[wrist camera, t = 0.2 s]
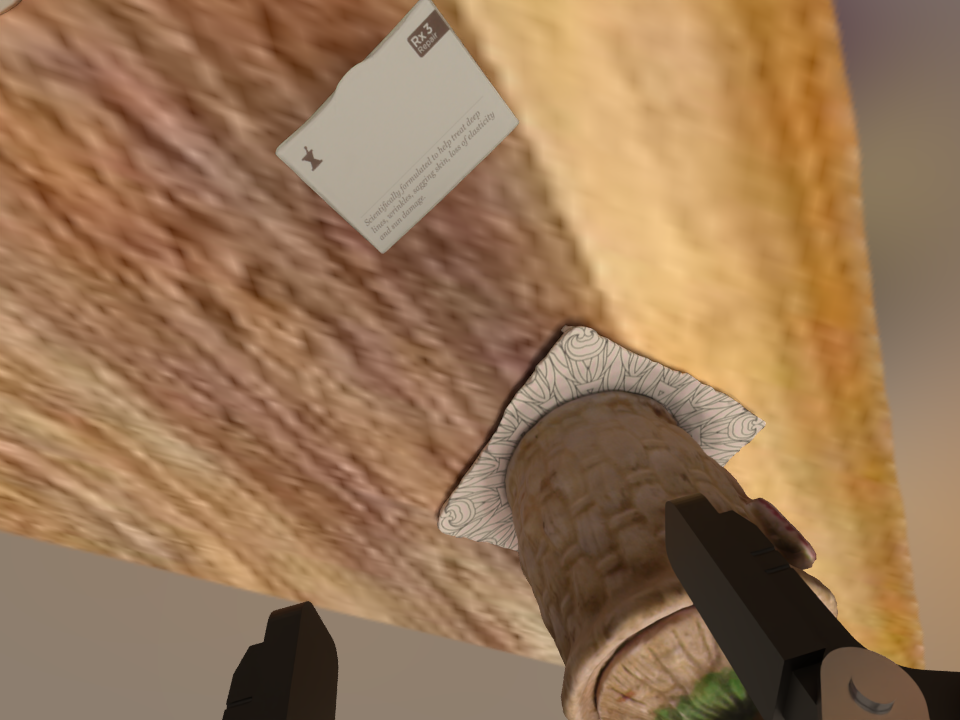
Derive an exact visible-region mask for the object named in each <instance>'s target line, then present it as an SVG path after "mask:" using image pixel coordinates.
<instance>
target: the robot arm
mask: <svg viewBox="0 0 960 720" xmlns="http://www.w3.org/2000/svg"><path fill="white" fill-rule="evenodd" d="M665 546H666V552H667V556H668V559H669V562H670V564H671V566H672V569H673V571H674V573H675V574H676V576H677V578H678V579H679V581H680V583H681V584H682V586H683V588H684V589H685V591H686V593H687V594H688V596H689V598H690V599H691V601H692V602H693V604H694V606H695V607H696V609H697V611H698V612H699V614H700V616H701V617H702V619H703V621H704V622H705V624H706V625H707V627H708V629H709V630H710V632H711V634H712V635H713V637H714V639H715V640H716V642H717V644H718V645H719V647H720V648H721V650H722V652H723V653H724V655H725V657H726V658H727V660H728V662H729V663H730V665H731V667H732V668H733V670H734V671H735V673H736V675H737V676H738V678H739V680H740V681H741V683H742V685H743V686H744V688H745V690H746V691H747V693H748V694H749V696H750V698H751V699H752V701H753V703H754V704H755V706H756V708H757V709H758V711H759V713H760V714H761V716H762V717H763V719H764V720H960V672H950V671H949V672H948V671H932V670H919V669H912V668H907V667H903V666H900V665H897V664H895V663H894V662H893V661H891V660H889V659H888V658H886V657H884V656H882V655H880V654H878V653H876V652H873V651H870V650H868V649H866V648H865V647H863V646H862V645H861V644H860V643H859V642H858V641H856V640H855V639H854V638H853V637H852V636H851V634H850V633H849V632H848V631H847V630H846V629H845V628H844V627H843V625H842V624H841V623H840V622H839V621H838V620H837V618H836V617H835V616H834V615H833V614H832V613H831V611H830V610H829V609H828V608H827V607H826V606H825V604H824V603H823V602H822V601H821V600H820V599H819V597H818V596H817V595H816V594H815V593H814V592H813V591H812V589H811V588H810V587H809V586H808V585H807V584H806V582H805V581H804V580H803V579H802V578H801V577H800V575H799V574H798V573H797V572H796V571H795V570H794V568H791V567H790V565H789V563H788V561H787V560H786V559H785V558H784V557H783V556H782V554H781V553H780V552H779V551H778V550H775V548H774V545H773V544H772V543H771V542H770V541H769V539H768V538H767V537H766V536H765V535H764V534H763V532H762V531H761V530H760V529H759V528H758V527H757V525H755V524H754V523H752V522H750V521H749V520H747V519H746V518H744V517H742V516H741V515H739V514H738V513H736V512H735V511H733V510H730V511H726V512H723V513H718V512H717V510H716V509H715V508H714V507H713V505H712V504H711V503H710V502H709V500H708V499H707V498H706V497H705V496H704V495H703V494H701V493H694V494H691V495H687V496H684V497H680V498H677V499H673V500H670V501H667V502H666V504H665ZM337 681H338V657H337V651H336V647H335V644H334V641H333V639H332V637H331V635H330V634H329V632H328V630H327V628H326V627H325V625H324V624H323V622H322V620H321V619H320V616H319V615H318V613H317V611H316V610H315V608H314V606H313V605H312V603H311V602H309V601H307V602H303V603H300V604H296V605H293V606H289V607H286V608H282V609H278V610H275V611H273V612H272V613H271V615H270V617H269V619H268V623H267V628H266V633H265V637H264V642H262V643H259V644H255V645H252V646H250V647H249V648H248V650H247V652H246V653H245V655H244V657H243V659H242V660H241V662H240V664H239V666H238V667H237V669H236V671H235V673H234V674H233V678H232V682H231V686H230V690H229V695H228V699H227V703H226V705H227V709H226V710H225V711H224V715H223V719H222V720H335V710H336V695H337Z"/></svg>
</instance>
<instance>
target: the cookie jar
mask: <svg viewBox="0 0 960 720" xmlns="http://www.w3.org/2000/svg"><path fill="white" fill-rule="evenodd" d="M561 331H562V332H564V334H563V335H562V336H561V337H560V338H559V340H558V341H557V342H556V343H555V344H554V346H553V347H552V348H551V350H550V351H549V353H548V354H547V355H546V357H545V358H544V359H543V360H542V361H541V362H540V363H539V364H538V365H537V366H536V368H535V371H534V372H533V374H532V375H531V377H530V378H529V379H528V380H527V382H526V383H525V385H524V386H523V387H522V388H521V389H520V390H519V391H518V392H517V393H516V394H515V396H514V398H513V399H512V401H511V403H510V404H509V405H508V407H507V408H506V410H505V412H504V415H503V418H502V420H501V422H500V424H499V426H498V428H497V430H496V432H495V433H494V435H493V436H492V438H491V439H490V441H489V442H488V443H487V445H486V446H485V447H484V448H483V450H482V451H481V453H480V454H479V456H478V457H477V459H476V460H475V462H474V463H473V465H472V466H471V467H470V469H469V470H468V471H467V473H466V474H465V475H464V477H463V478H462V480H461V482H460V484H459V485H458V486H457V487H456V488H455V490H454V491H453V492H452V494H451V496H450V497H449V498H448V500H447V501H446V502H445V503H444V505H443V506H442V508H441V510H440V516H439V520H438V523H437V526H438V528H439V530H440V531H441V532H443V533H445V534H448V535H451V536H456V538H459V537H465V538H468V539H471V540H474V541H477V542H488V543H491V544H494V545H498V546H500V547H504V548H509V549H512V550H515V551H518V553H519V560H520V564H521V568H522V571H523V573H524V575H525V577H526V579H527V580H528V582H529V584H530V585H531V587H532V591H533V593H534V596H535V598H536V600H537V603H538V605H539V608H540V612H541V616H542V619H543V622H544V624H545V626H546V628H547V629H548V631H549V633H550V634H551V636H552V638H553V639H554V641H555V644H556V646H557V648H558V650H559V653H560V655H561V657H562V659H563V662H564V664H565V666H566V667H565V674H564V681H563V688H562V694H561V701H562V707H563V712H564V715H565V716H566V718H567V719H568V720H764V719H763V717H762V716H761V714H760V713H759V711H758V709H757V708H756V706H755V704H754V703H753V701H752V699H751V698H750V696H749V694H748V693H747V691H746V690H745V688H744V686H743V685H742V683H741V681H740V680H739V678H738V676H737V675H736V673H735V671H734V670H733V668H732V667H731V665H730V663H729V662H728V660H727V658H726V657H725V655H724V653H723V652H722V650H721V648H720V647H719V645H718V644H717V642H716V640H715V639H714V637H713V635H712V634H711V632H710V630H709V629H708V627H707V625H706V624H705V622H704V621H703V619H702V617H701V616H700V614H699V612H698V611H697V609H696V607H695V606H694V604H693V602H692V601H691V599H690V598H689V596H688V594H687V593H686V591H685V589H684V588H683V586H682V584H681V583H680V581H679V579H678V578H677V576H676V574H675V573H674V571H673V569H672V566H671V564H670V562H669V559H668V556H667V552H666V546H665V504H666V502H667V501H670V500H673V499H677V498H680V497H684V496H687V495H691V494H694V493H701V494H703V495H704V496H705V497H706V498H707V499H708V500H709V502H710V503H711V504H712V505H713V507H714V508H715V509H716V510H717V512H718V513H723V512H726V511H730V510H733V511H735V512H736V513H738V514H739V515H741V516H742V517H744V518H746V519H747V520H749V521H750V522H752V523H754V524H755V525H757V527H758V528H759V529H760V530H761V531H762V532H763V534H764V535H765V536H766V537H767V538H768V539H769V541H770V542H771V543H772V544H773V545H774V548H775V550H778V551H779V552H780V553H781V554H782V556H783V557H784V558H785V559H786V560H787V561H788V563H789V565H790V567H791V568H794V570H795V571H796V572H797V573H798V574H799V575H800V577H801V578H802V579H803V580H804V581H805V582H806V584H807V585H808V586H809V587H810V588H811V589H812V591H813V592H814V593H815V594H816V595H817V596H818V597H819V599H820V600H821V601H822V602H823V603H824V604H825V606H826V607H827V608H828V609H829V610H830V611H831V613H832V614H833V615H834V616H835V617H836V618H837V614H838V610H837V602H836V599H835V597H834V595H833V594H832V593H831V591H830V590H829V589H828V588H827V587H826V586H824V585H823V584H822V583H821V582H820V581H819V580H818V579H816V578H815V577H813V576H811V575H809V574H807V573H806V572H804V571H803V569H808V568H811V567H812V564H813V563H814V561H815V560H816V553H815V551H814V549H813V548H812V546H811V545H810V543H809V542H808V541H807V540H806V539H805V538H804V537H803V536H802V535H801V533H800V532H799V531H798V530H797V529H796V528H795V527H794V526H793V525H792V524H791V523H790V522H789V521H788V520H787V519H786V518H785V517H784V516H783V515H782V514H781V513H780V512H779V511H778V510H777V509H776V508H775V507H774V506H773V505H772V504H771V503H769V502H768V501H766V500H764V499H763V498H757V499H754V500H752V499H750V498H749V497H747V495H746V494H745V492H744V490H743V489H742V487H741V486H740V485H739V483H738V482H737V480H736V479H735V478H734V477H733V476H732V475H731V474H730V473H729V472H728V471H727V470H726V469H725V468H724V466H725V465H726V463H727V462H728V461H729V459H730V458H731V457H732V456H734V455H735V454H736V453H737V452H739V451H740V449H741V448H742V447H743V446H745V445H746V444H748V443H749V442H750V441H751V440H752V439H753V438H754V437H755V435H756V434H757V433H758V432H759V431H760V430H761V429H763V428H764V426H765V425H766V423H765V421H763V420H761V419H760V418H758V417H757V416H755V415H754V414H752V413H751V412H749V411H748V410H746V409H745V408H744V407H743V406H742V405H741V404H740V403H738V402H736V401H735V400H733V399H732V398H730V397H729V396H727V395H726V394H724V393H721V392H718V391H715V390H714V389H713V388H712V387H711V386H709V385H704V384H702V383H700V382H699V381H698V380H697V379H695V378H694V377H693V376H691V375H689V374H688V373H681V372H680V371H675V370H671V369H670V368H668V367H665V366H663V365H661V364H659V363H658V362H652V361H651V360H650V359H648V358H645V357H642V356H639V355H637V354H635V353H633V352H631V351H629V350H627V349H625V348H623V347H622V346H620V345H618V344H616V343H614V342H612V341H610V340H609V339H608V338H605V337H602V336H600V335H598V334H597V332H596V331H595V330H593V329H591V328H588V327H584V326H577V327H573V326H567V325H565V326H564V327H563V328H562V329H561Z"/></svg>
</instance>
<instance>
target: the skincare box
mask: <svg viewBox="0 0 960 720" xmlns="http://www.w3.org/2000/svg"><path fill="white" fill-rule="evenodd" d="M518 124H519V121H518V119H517V118H516V117H515V115H514V114H513V113H512V111H511V110H510V108H509V107H508V106H507V104H506V103H505V102H504V100H503V99H502V98H501V96H500V95H499V94H498V92H497V91H496V90H495V88H494V87H493V85H492V84H491V83H490V81H489V80H488V78H487V77H486V76H485V74H484V73H483V71H482V70H481V69H480V67H479V66H478V64H477V63H476V62H475V60H474V59H473V58H472V56H471V55H470V53H469V52H468V51H467V49H466V48H465V46H464V45H463V44H462V42H461V41H460V39H459V38H458V37H457V35H456V34H455V32H454V31H453V30H452V28H451V27H450V26H449V24H448V23H447V21H446V20H445V19H444V17H443V16H442V14H441V13H440V12H439V10H438V9H437V7H436V6H435V5H434V3H433V2H432V0H419V1H418V2H417V3H416V4H415V5H414V7H413V8H412V9H411V10H410V11H409V12H408V13H407V14H406V15H405V17H404V18H403V19H402V20H401V21H400V22H399V23H398V24H397V25H396V26H395V27H394V29H393V30H392V31H391V32H390V33H389V34H388V35H387V36H386V37H385V38H384V39H383V40H382V41H381V42H380V44H379V45H378V46H377V47H376V48H375V49H374V50H373V51H372V52H371V53H370V54H369V55H368V56H367V57H366V58H365V59H364V60H363V61H362V62H361V63H359V64H357V65H355V66H354V67H353V68H351V69H350V70H349V71H348V72H347V73H346V74H345V75H344V77H343V78H342V79H341V81H340V82H339V83H338V85H337V88H336V90H335V91H334V92H333V93H332V95H331V96H330V97H329V98H328V99H327V100H326V101H325V102H324V103H323V104H322V105H321V106H320V107H319V109H318V110H317V111H316V112H315V113H314V114H313V115H312V116H311V117H310V118H309V119H308V120H307V121H306V122H305V123H304V124H303V125H302V126H301V127H300V128H299V129H297V130H296V131H295V132H294V133H293V134H292V135H291V136H290V137H288V138H287V139H286V140H285V141H284V142H283V143H282V144H280V145H279V147H278V148H277V150H276V153H275V154H276V155H277V156H278V157H279V158H280V159H281V160H282V161H283V162H284V163H285V164H286V165H287V166H288V167H290V168H291V169H292V170H293V171H294V172H295V173H296V174H297V175H298V176H299V177H300V178H301V179H302V180H303V181H304V182H305V183H306V184H307V185H308V186H309V187H310V188H311V189H312V190H314V191H315V192H316V193H317V194H318V195H319V196H320V197H321V198H322V199H323V200H324V201H325V202H326V203H327V204H328V205H330V206H331V207H332V208H333V209H334V210H335V211H336V212H337V213H338V214H339V215H340V216H341V217H343V218H344V219H345V220H346V221H347V222H348V223H349V224H350V225H351V226H352V227H353V228H354V229H356V230H357V231H358V232H359V233H360V234H361V235H362V236H363V237H364V238H365V239H366V240H368V241H369V242H370V243H371V244H372V245H373V246H374V247H375V248H376V249H378V250H379V251H380V252H381V253H385V252H386V251H387V250H388V249H389V248H390V247H391V246H393V245H394V244H395V243H396V242H397V241H398V240H399V239H400V238H401V237H402V236H404V235H405V234H406V233H407V232H408V231H409V230H410V229H411V228H412V227H413V226H414V225H415V224H416V223H418V222H419V221H420V220H421V219H422V218H423V217H424V216H425V215H426V214H427V213H428V212H429V211H431V210H432V209H433V208H434V207H435V206H436V205H437V204H438V203H439V202H440V201H441V200H442V199H443V198H444V197H445V196H446V195H447V194H448V193H449V192H450V191H451V190H453V189H454V188H455V187H456V186H457V185H458V184H459V183H460V182H461V181H462V180H463V179H464V178H465V177H466V176H467V175H468V174H469V173H470V172H471V171H472V170H473V169H474V168H475V167H476V166H477V165H478V164H479V163H480V162H481V161H482V160H483V159H484V158H485V157H487V156H488V155H489V154H490V153H491V152H492V151H493V150H494V149H495V148H496V147H497V146H498V145H499V144H500V143H501V142H502V141H503V140H504V139H505V138H506V137H507V136H508V135H509V134H510V133H511V131H512V130H513V129H514V128H515V127H516V126H517V125H518Z"/></svg>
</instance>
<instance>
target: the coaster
mask: <svg viewBox="0 0 960 720" xmlns="http://www.w3.org/2000/svg"><path fill="white" fill-rule="evenodd" d="M20 1H21V0H0V15H1V14H3V13H5V12H7V11H9V10H10V9H11V8H13V7H14V6H16V5H17V4H18V3H19V2H20Z"/></svg>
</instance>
